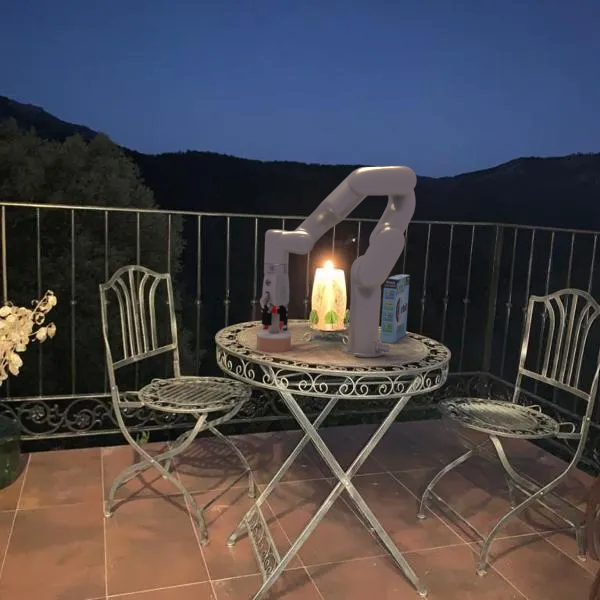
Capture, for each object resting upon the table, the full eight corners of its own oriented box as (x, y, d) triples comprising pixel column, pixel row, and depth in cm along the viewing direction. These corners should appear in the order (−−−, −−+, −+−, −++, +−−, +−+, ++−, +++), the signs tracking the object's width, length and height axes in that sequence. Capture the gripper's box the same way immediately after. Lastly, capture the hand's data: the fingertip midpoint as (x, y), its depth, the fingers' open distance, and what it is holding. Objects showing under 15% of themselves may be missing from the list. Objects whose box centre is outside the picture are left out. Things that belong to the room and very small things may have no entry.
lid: (297, 335, 203) (297, 313, 202) (280, 340, 193) (281, 318, 192) (267, 331, 208) (267, 310, 207) (250, 336, 198) (250, 314, 197)
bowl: (294, 350, 203) (295, 335, 203) (279, 356, 194) (280, 340, 194) (267, 346, 208) (267, 331, 207) (251, 351, 199) (252, 336, 198)
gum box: (393, 333, 241) (397, 274, 238) (407, 335, 239) (410, 274, 236) (379, 342, 223) (383, 277, 220) (393, 343, 221) (397, 278, 218)
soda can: (284, 338, 222) (285, 302, 221) (281, 342, 215) (283, 304, 214) (264, 337, 223) (265, 301, 221) (261, 341, 216) (262, 303, 214)
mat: (321, 347, 210) (321, 344, 210) (308, 352, 201) (308, 350, 201) (294, 343, 214) (294, 341, 214) (280, 348, 205) (280, 346, 205)
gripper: (273, 271, 188) (271, 328, 190) (299, 268, 204) (297, 320, 206) (251, 269, 191) (250, 325, 194) (278, 266, 207) (276, 318, 209)
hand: (274, 323), depth 200 cm, fingers open, 9 cm apart
